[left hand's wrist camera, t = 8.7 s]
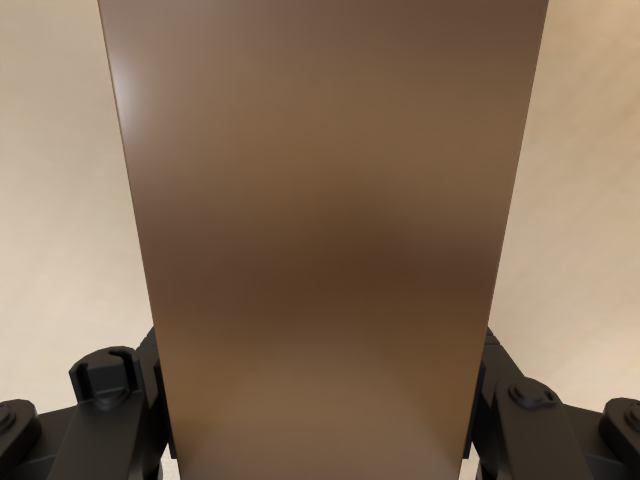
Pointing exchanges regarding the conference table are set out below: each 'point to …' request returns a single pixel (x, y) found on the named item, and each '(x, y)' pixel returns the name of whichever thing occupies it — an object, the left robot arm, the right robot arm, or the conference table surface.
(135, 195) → the bar
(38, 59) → the conference table surface
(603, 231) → the conference table surface
